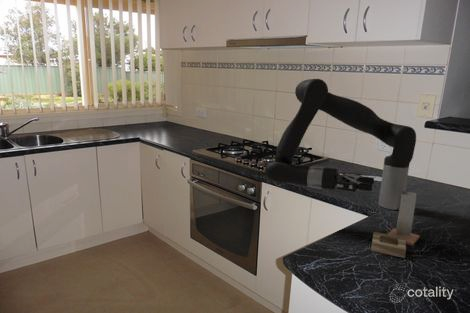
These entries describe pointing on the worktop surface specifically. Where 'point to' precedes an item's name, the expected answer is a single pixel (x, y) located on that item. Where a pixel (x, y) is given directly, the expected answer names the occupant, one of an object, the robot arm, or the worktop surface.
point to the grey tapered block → (406, 214)
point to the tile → (408, 241)
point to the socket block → (389, 244)
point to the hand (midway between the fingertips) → (372, 184)
